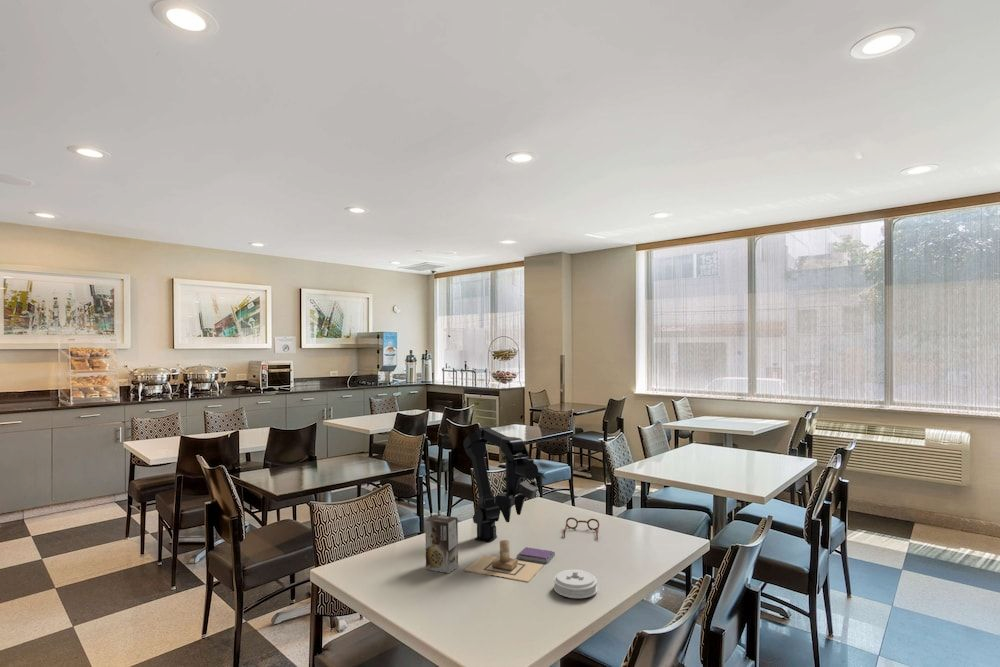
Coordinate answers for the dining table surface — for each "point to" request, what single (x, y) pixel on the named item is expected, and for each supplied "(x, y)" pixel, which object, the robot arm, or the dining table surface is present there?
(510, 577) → the stamp board
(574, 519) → the glasses
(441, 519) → the coffee box
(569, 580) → the lid
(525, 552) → the ink pad
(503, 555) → the stamp
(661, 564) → the dining table surface
